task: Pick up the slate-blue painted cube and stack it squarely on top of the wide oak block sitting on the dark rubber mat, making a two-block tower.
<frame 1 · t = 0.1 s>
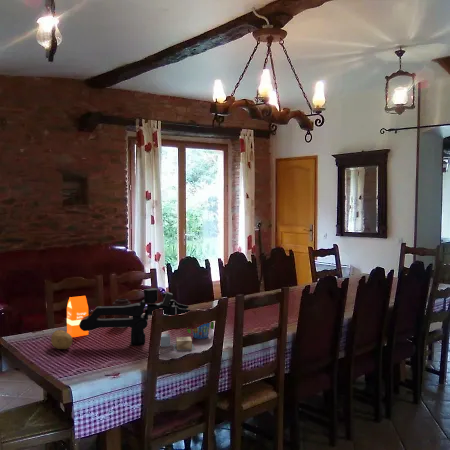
hand: (189, 308, 251), 17 cm above the table, tool horizontal, fingers open, 9 cm apart
coffee cup: (121, 326, 281), on the table
snack cup: (200, 337, 260), on the table
build mat: (183, 347, 242), on the table
potato: (62, 349, 238), on the table
blue cube: (164, 345, 245), on the table
oak block: (183, 347, 241), resting on build mat
orange juice: (77, 334, 264), on the table
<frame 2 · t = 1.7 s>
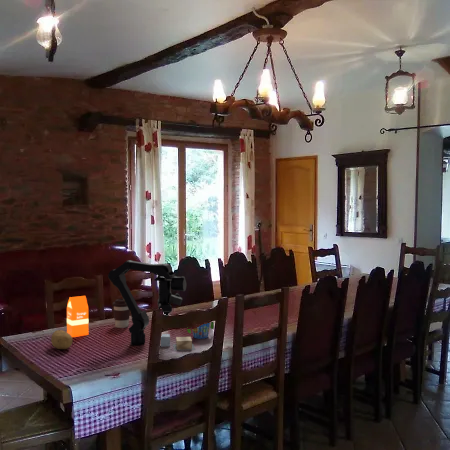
hand: (164, 322, 244), 11 cm above the table, tool pointing down, fingers open, 9 cm apart
nothing on the table moved.
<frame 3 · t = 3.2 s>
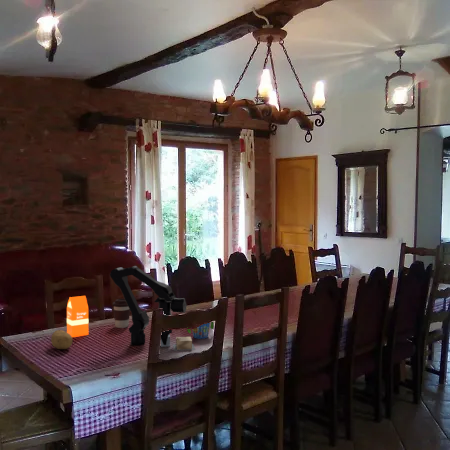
hand: (164, 343, 245), 1 cm above the table, tool pointing down, fingers closed on blue cube, 5 cm apart
blue cube: (164, 345, 245), on the table, touching gripper
everything else where it was.
when the fingers open (6 cm above the table, at t = 6.1 s): blue cube drops 1 cm, resting on oak block.
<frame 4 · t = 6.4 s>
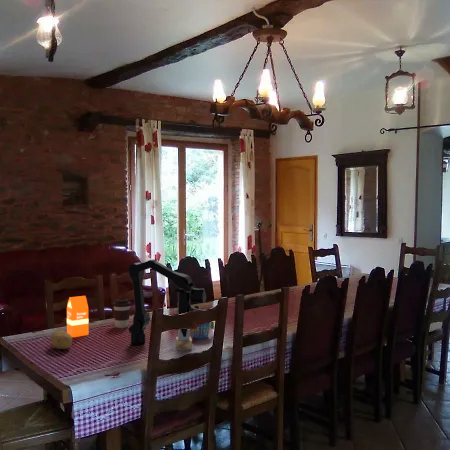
hand: (183, 334, 241), 6 cm above the table, tool pointing down, fingers open, 8 cm apart
blue cube: (183, 338, 241), point 4 cm above the table, touching oak block
oak block: (183, 347, 241), resting on build mat, touching blue cube
everything else where it was.
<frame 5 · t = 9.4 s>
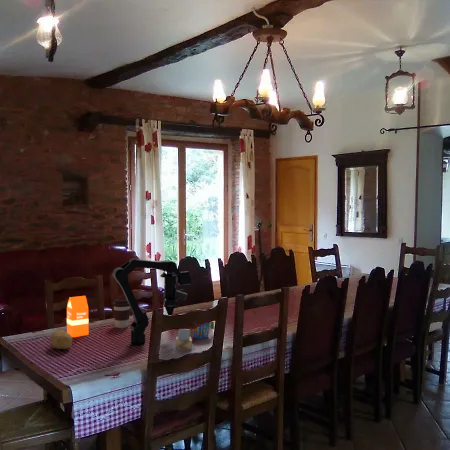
hand: (169, 316, 254), 12 cm above the table, tool pointing down, fingers open, 9 cm apart
nothing on the table moved.
at the end: blue cube 0.0 cm off-centre on the oak block, point 4.0 cm above the oak block's base; blue cube touching oak block; the gripper is holding nothing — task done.
